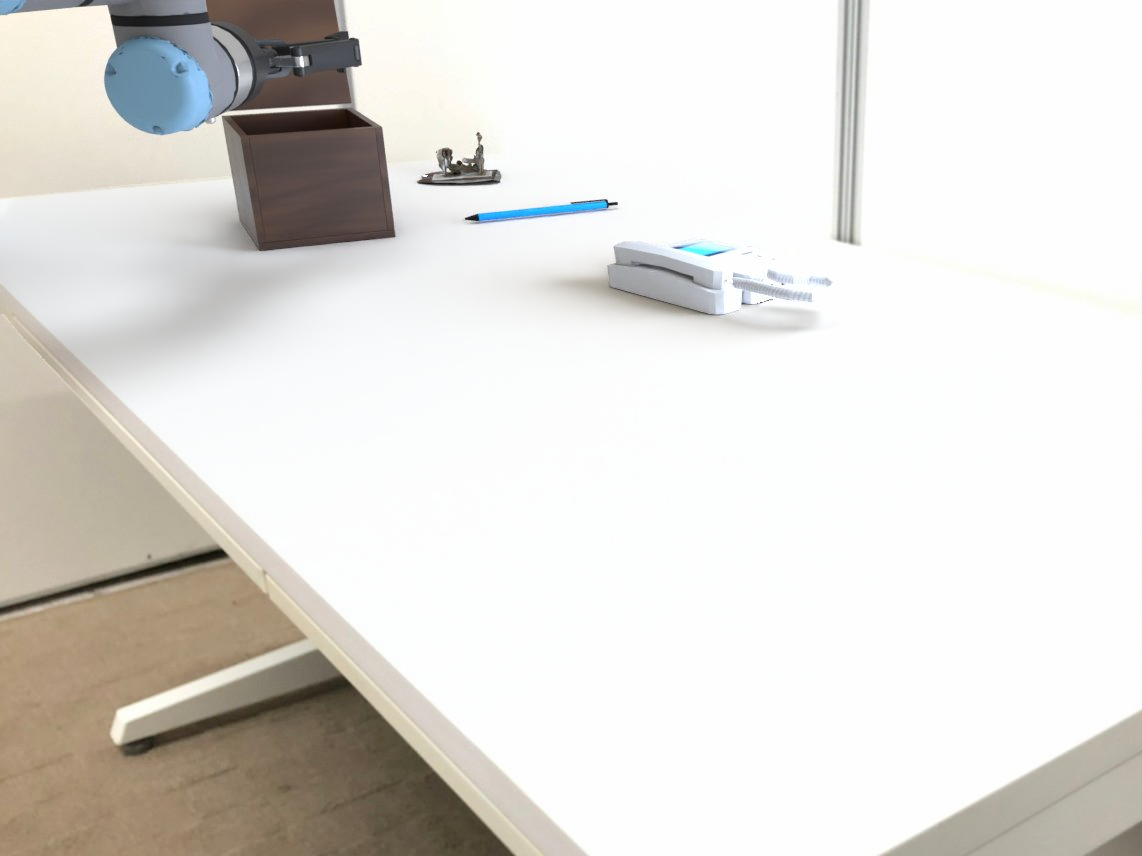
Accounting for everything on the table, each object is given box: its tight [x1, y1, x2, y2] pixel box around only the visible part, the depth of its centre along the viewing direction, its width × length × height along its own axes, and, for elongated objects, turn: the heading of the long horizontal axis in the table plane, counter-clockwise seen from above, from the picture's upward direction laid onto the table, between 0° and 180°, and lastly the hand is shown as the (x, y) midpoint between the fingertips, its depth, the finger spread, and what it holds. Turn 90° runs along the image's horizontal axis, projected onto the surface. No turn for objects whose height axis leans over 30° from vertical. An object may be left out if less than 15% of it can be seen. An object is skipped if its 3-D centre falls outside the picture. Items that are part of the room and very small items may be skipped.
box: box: [221, 106, 396, 251], centre depth 147 cm, size 17×15×12 cm
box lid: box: [206, 0, 353, 113], centre depth 149 cm, size 17×15×1 cm
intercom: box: [606, 238, 841, 316], centre depth 122 cm, size 13×4×25 cm
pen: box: [463, 198, 619, 222], centre depth 155 cm, size 1×19×1 cm, turn 116°
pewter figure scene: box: [417, 131, 502, 184], centre depth 175 cm, size 12×6×11 cm
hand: (281, 45), depth 137 cm, fingers open, 13 cm apart
